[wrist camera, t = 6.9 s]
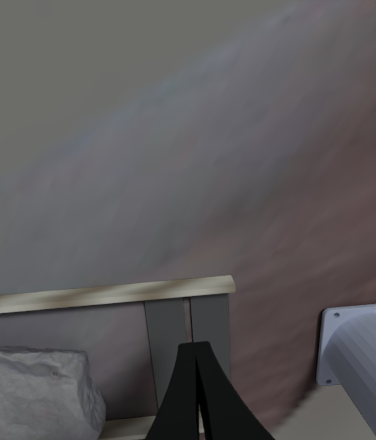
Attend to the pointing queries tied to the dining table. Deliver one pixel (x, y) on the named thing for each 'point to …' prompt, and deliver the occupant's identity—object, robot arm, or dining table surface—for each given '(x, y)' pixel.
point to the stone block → (48, 395)
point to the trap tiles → (175, 332)
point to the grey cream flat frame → (133, 427)
